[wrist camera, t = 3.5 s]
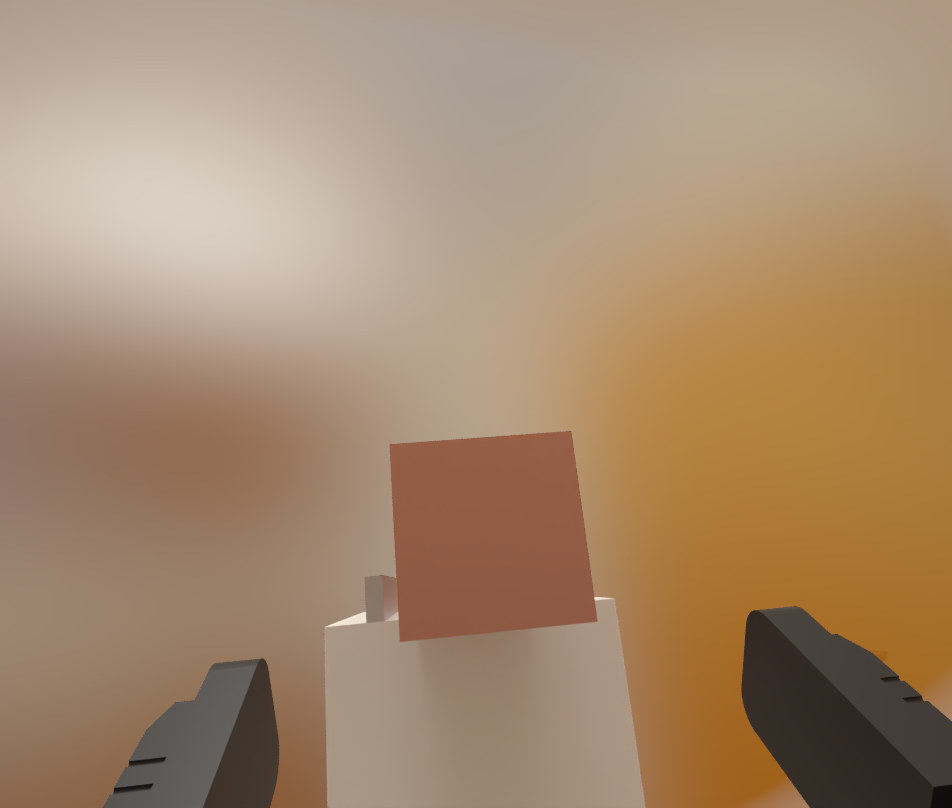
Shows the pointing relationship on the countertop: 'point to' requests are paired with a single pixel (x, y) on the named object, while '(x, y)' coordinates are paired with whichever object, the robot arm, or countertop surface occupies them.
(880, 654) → the countertop surface
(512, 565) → the long salmon orange block
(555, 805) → the stand
